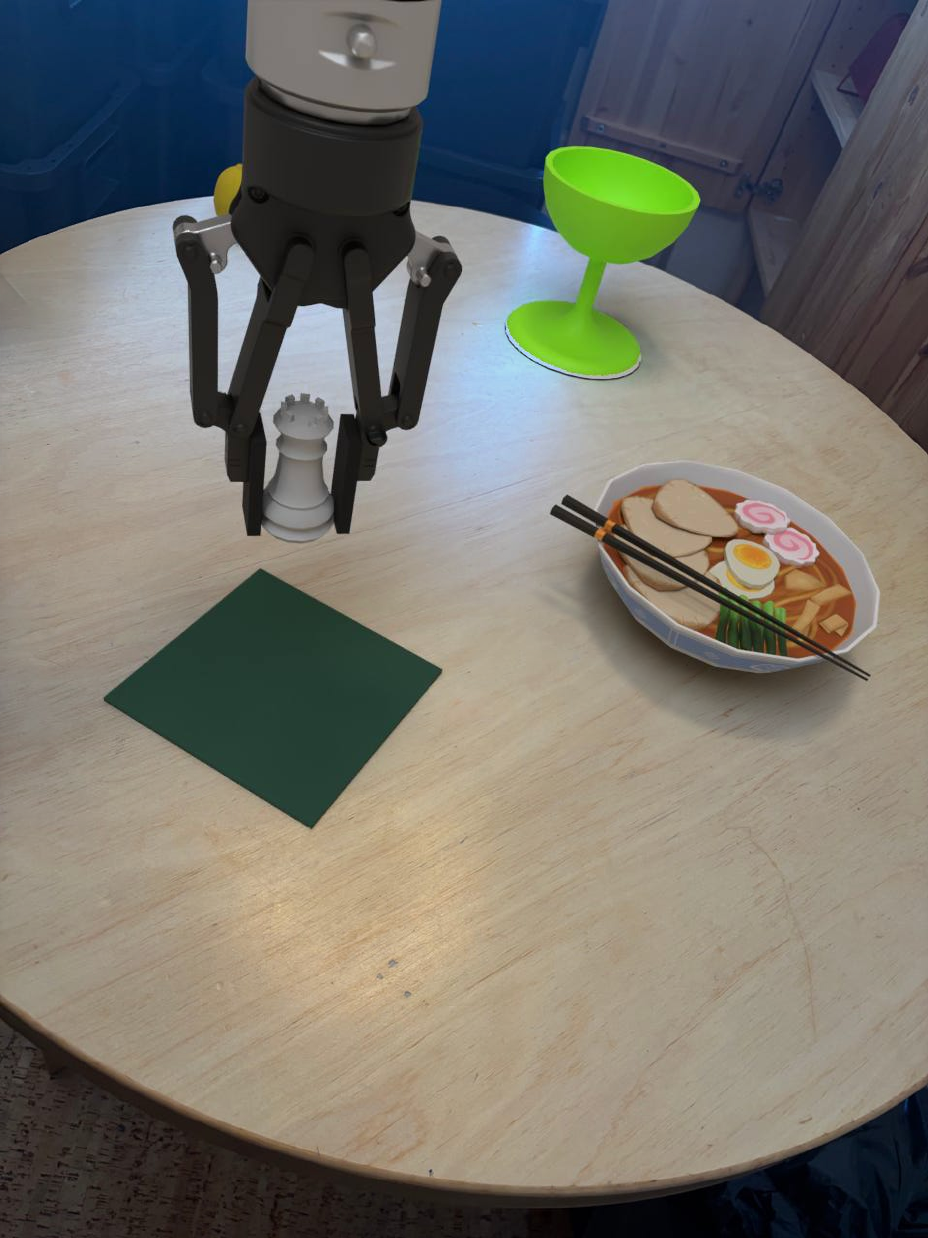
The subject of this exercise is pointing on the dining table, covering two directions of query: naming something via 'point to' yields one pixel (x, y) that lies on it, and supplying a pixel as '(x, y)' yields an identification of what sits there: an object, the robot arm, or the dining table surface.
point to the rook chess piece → (299, 473)
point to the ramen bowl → (730, 566)
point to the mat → (277, 694)
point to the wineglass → (601, 250)
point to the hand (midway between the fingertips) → (295, 519)
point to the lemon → (227, 189)
